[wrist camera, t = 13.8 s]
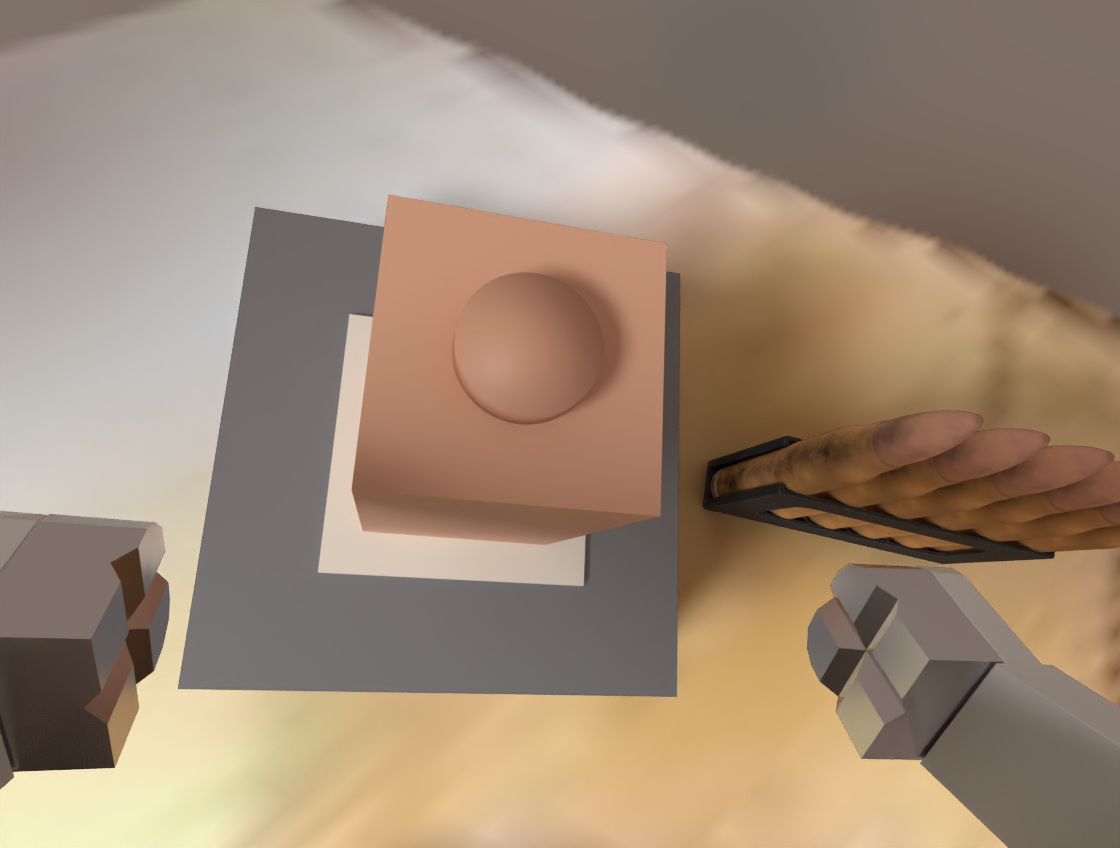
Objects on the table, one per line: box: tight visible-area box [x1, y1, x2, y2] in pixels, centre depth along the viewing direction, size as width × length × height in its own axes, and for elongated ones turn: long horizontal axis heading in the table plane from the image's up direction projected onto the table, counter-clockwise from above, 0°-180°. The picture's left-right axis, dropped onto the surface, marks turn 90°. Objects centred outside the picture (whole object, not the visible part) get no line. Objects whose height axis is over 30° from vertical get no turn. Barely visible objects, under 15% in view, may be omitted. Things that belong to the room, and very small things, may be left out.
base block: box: [178, 207, 680, 697], centre depth 22 cm, size 12×12×6 cm
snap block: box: [351, 195, 667, 545], centre depth 15 cm, size 5×5×9 cm
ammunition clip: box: [703, 411, 1120, 564], centre depth 22 cm, size 11×2×12 cm, turn 79°
